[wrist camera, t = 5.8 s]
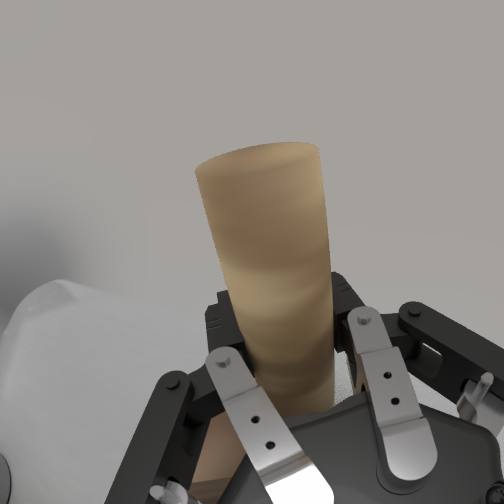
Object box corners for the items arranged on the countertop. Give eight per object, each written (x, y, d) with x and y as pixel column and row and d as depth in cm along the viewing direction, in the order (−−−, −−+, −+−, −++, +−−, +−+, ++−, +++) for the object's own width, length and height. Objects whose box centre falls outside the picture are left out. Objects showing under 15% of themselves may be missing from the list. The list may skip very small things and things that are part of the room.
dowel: (286, 474, 16) (195, 188, 7) (273, 430, 19) (194, 160, 10) (340, 457, 16) (340, 155, 7) (323, 415, 19) (295, 137, 10)
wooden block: (274, 493, 15) (260, 470, 12) (206, 505, 14) (175, 484, 12) (253, 410, 21) (238, 370, 18) (196, 422, 20) (171, 384, 18)
